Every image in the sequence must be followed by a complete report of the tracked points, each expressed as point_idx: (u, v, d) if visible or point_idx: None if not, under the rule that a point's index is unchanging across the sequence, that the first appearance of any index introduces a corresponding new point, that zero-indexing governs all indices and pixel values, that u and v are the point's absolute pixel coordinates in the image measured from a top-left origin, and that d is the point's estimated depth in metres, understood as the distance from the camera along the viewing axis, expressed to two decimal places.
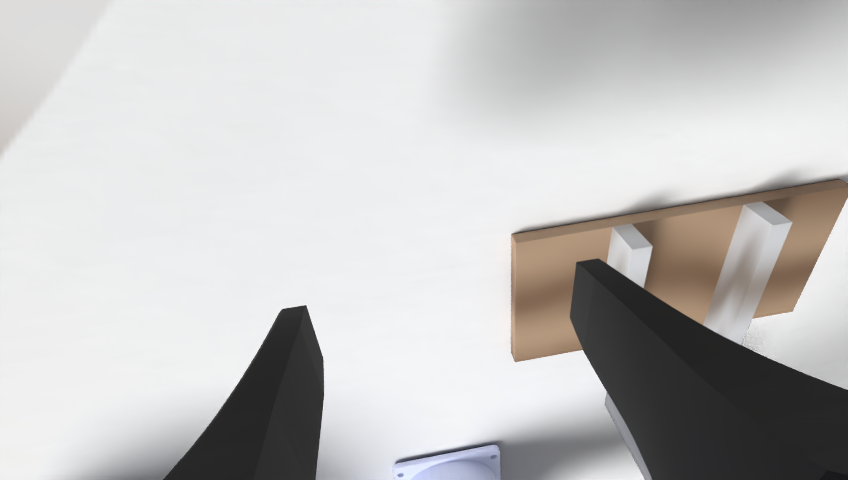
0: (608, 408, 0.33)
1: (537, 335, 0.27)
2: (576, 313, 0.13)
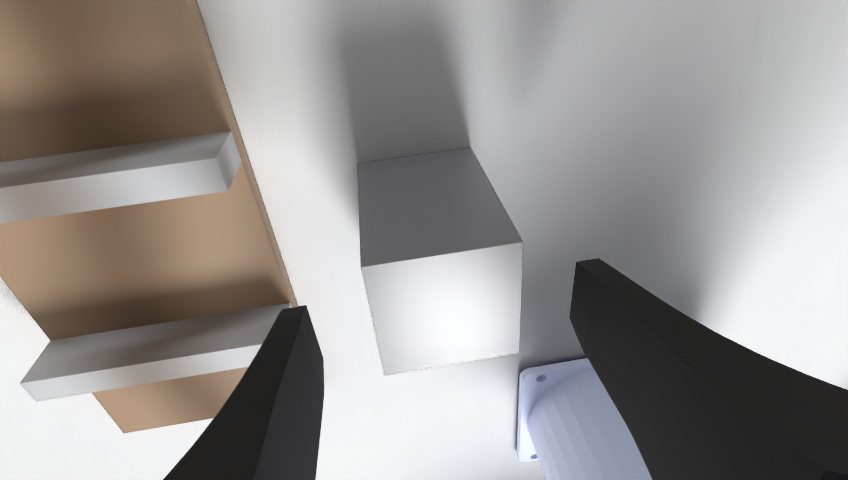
0: None
1: None
2: (576, 313, 0.13)
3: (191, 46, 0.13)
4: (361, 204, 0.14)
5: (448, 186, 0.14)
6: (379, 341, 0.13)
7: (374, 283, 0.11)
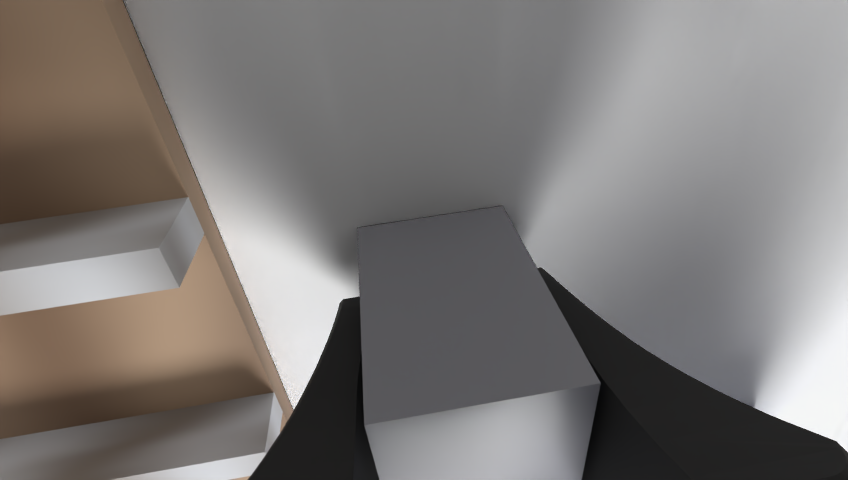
0: None
1: None
2: None
3: (126, 89, 0.09)
4: (363, 300, 0.10)
5: (480, 272, 0.10)
6: None
7: (383, 442, 0.08)
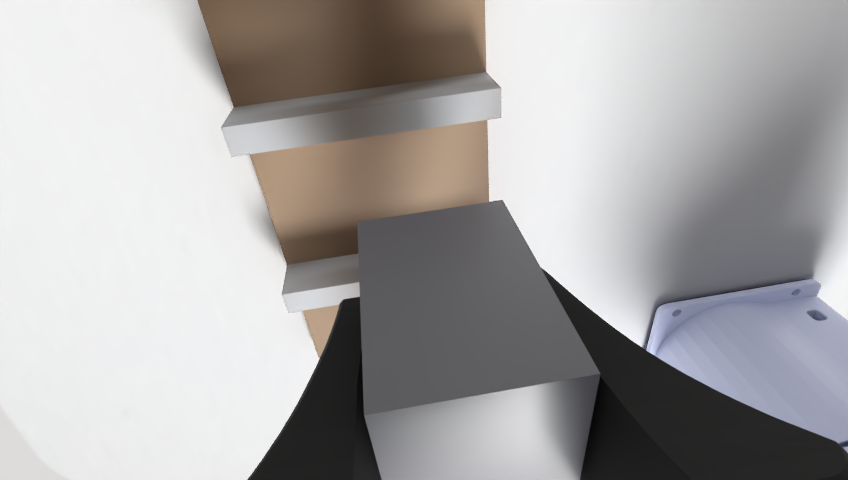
0: None
1: None
2: None
3: None
4: (363, 292, 0.10)
5: (480, 265, 0.10)
6: None
7: (383, 433, 0.08)
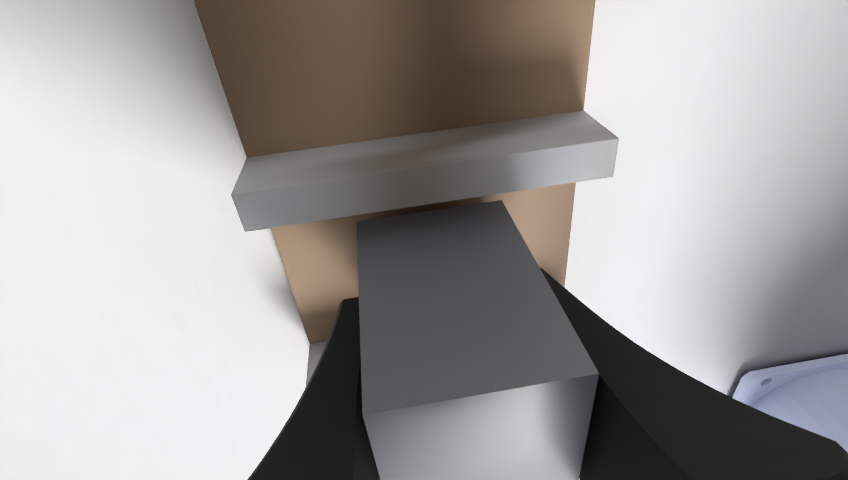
0: None
1: None
2: None
3: (583, 11, 0.11)
4: (362, 292, 0.10)
5: (478, 265, 0.10)
6: None
7: (381, 432, 0.08)
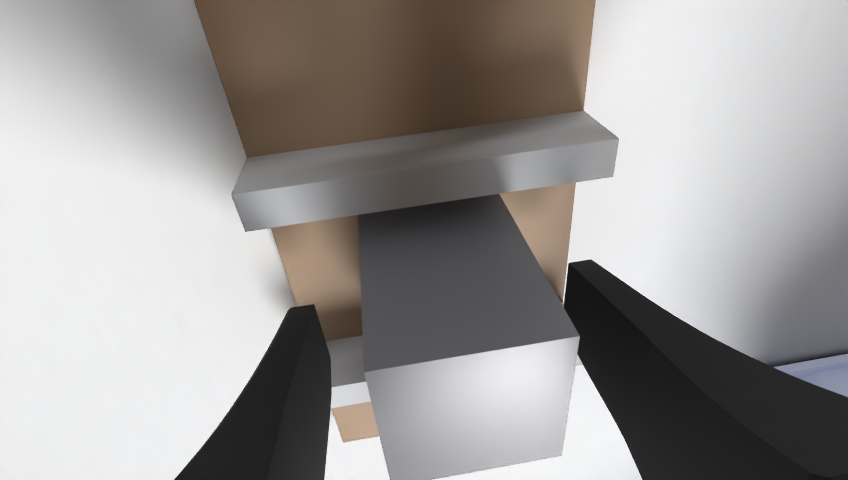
0: None
1: None
2: (569, 314, 0.13)
3: (583, 11, 0.11)
4: (363, 268, 0.11)
5: (472, 243, 0.11)
6: (386, 451, 0.10)
7: (381, 389, 0.09)
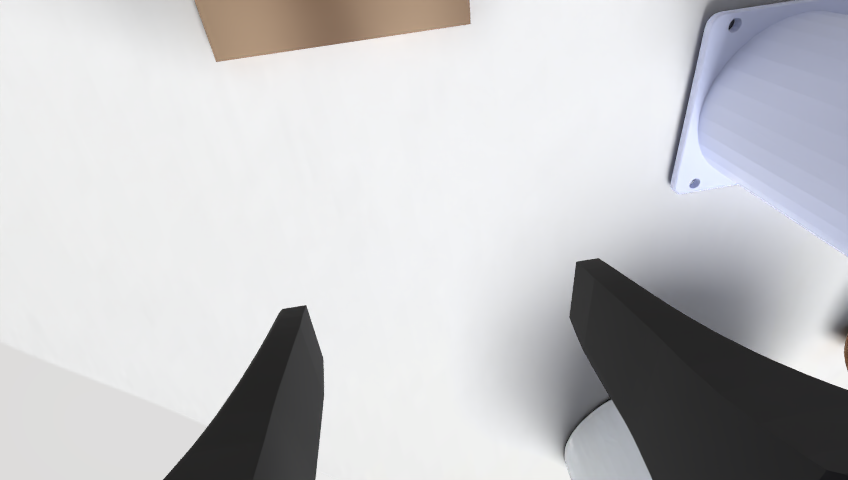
0: None
1: None
2: (576, 313, 0.13)
3: None
4: None
5: None
6: None
7: None
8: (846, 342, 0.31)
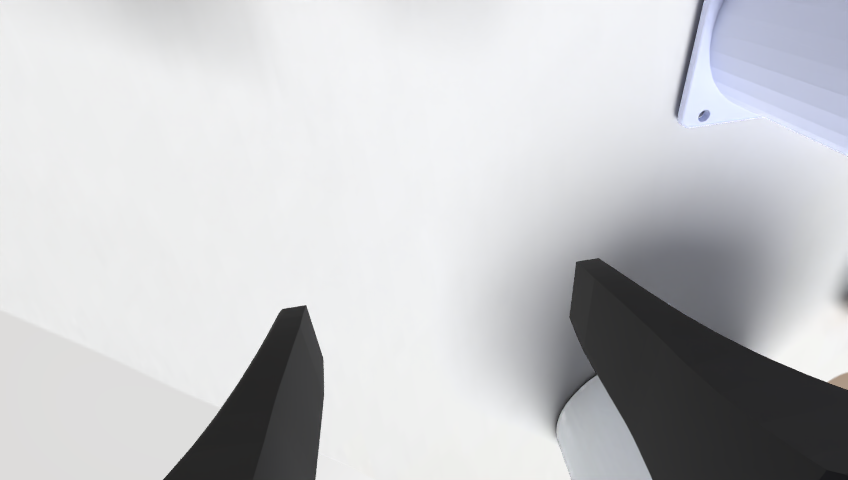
0: None
1: None
2: (576, 313, 0.13)
3: None
4: None
5: None
6: None
7: None
8: None
